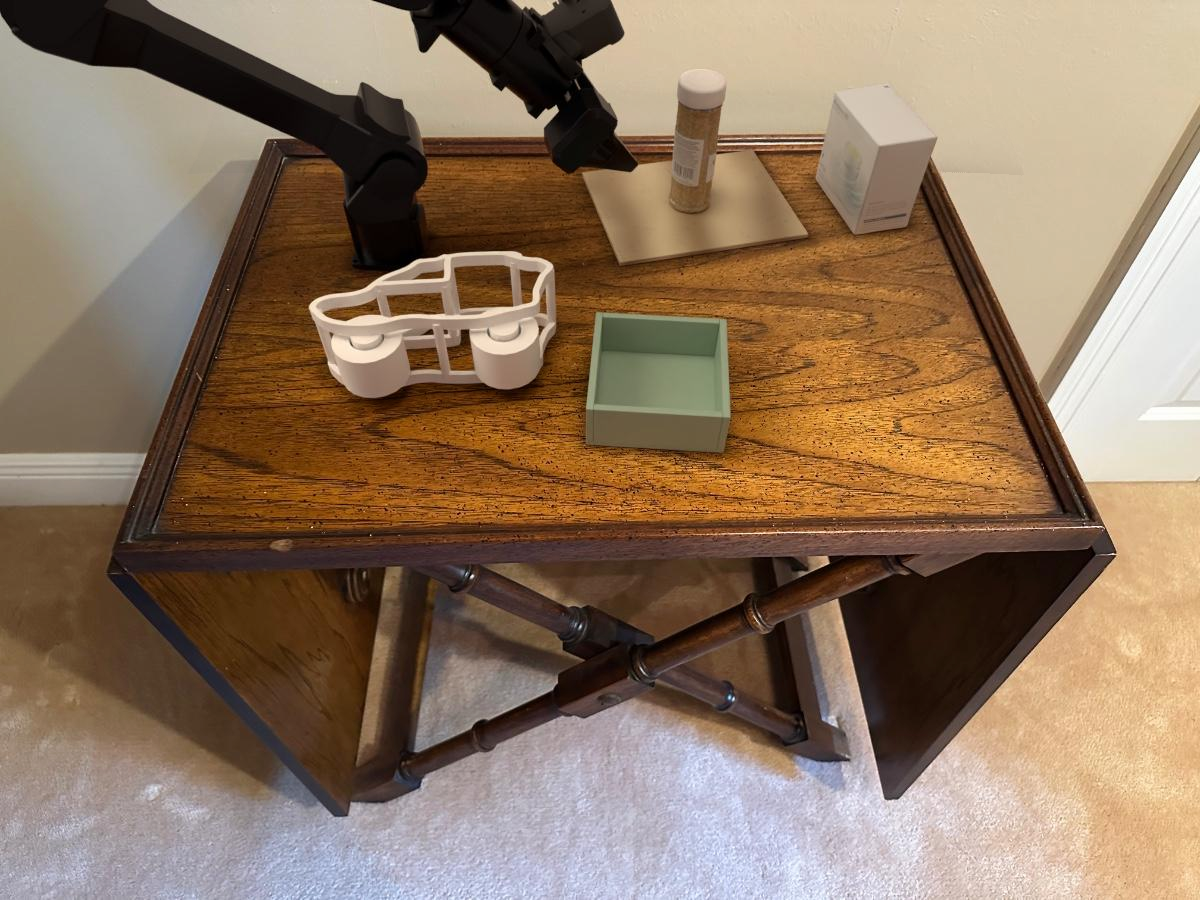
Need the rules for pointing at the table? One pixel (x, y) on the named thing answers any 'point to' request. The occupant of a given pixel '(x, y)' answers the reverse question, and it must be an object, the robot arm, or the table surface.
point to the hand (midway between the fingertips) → (621, 141)
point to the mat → (659, 231)
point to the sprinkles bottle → (696, 138)
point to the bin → (659, 383)
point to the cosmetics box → (874, 157)
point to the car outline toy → (439, 328)
